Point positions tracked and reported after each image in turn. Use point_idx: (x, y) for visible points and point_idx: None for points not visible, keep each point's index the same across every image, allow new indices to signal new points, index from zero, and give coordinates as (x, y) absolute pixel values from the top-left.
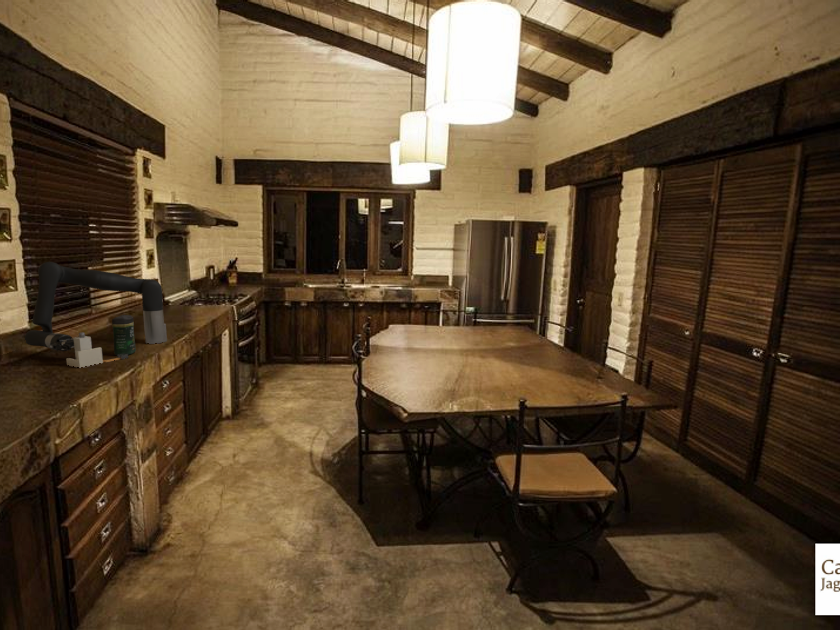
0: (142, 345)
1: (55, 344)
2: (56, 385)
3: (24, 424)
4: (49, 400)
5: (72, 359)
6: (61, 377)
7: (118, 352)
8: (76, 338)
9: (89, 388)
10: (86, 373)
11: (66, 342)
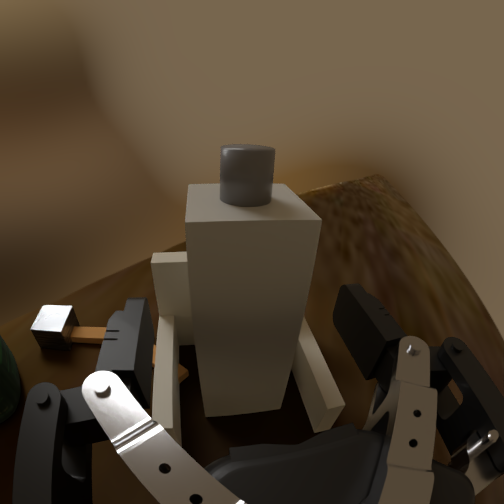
0: None
1: (474, 368)
2: (366, 230)
3: (378, 181)
4: (367, 198)
5: (315, 352)
6: (360, 266)
7: (13, 370)
8: (300, 201)
9: (311, 198)
10: None
11: (377, 440)
